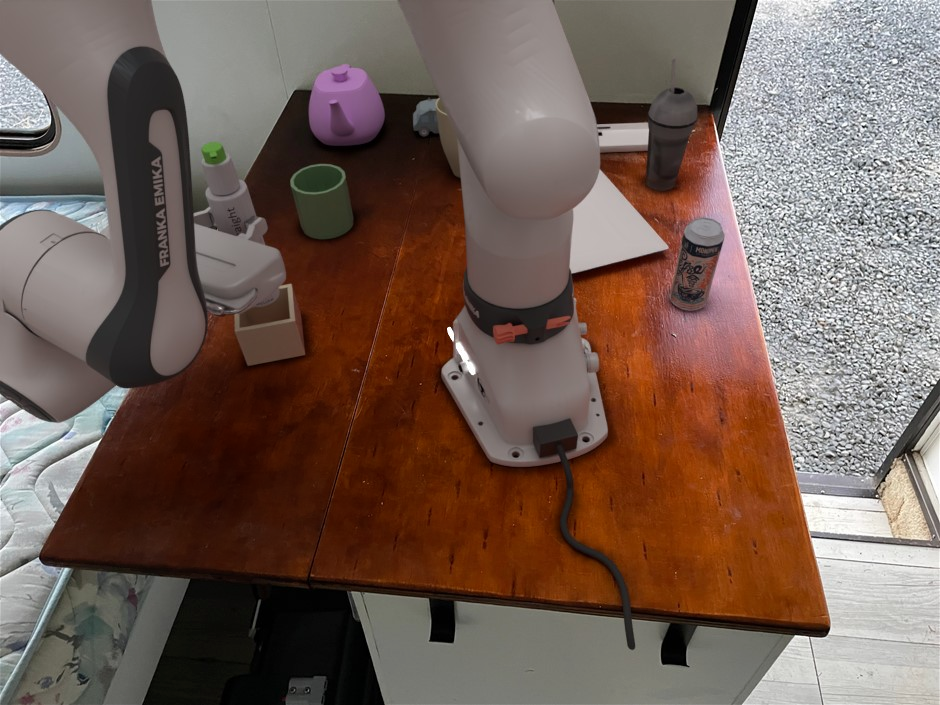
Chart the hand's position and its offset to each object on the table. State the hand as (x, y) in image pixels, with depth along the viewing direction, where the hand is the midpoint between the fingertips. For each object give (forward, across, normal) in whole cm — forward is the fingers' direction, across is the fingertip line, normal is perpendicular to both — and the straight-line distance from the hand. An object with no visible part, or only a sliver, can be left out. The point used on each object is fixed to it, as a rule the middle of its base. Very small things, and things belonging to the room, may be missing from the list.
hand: (241, 215), depth 79 cm
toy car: (+56, +6, +19) cm, 60 cm away
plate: (+36, -25, +19) cm, 48 cm away
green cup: (+23, +9, +19) cm, 31 cm away
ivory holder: (-1, 0, +19) cm, 19 cm away
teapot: (+47, +20, +19) cm, 55 cm away
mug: (+46, -5, +19) cm, 50 cm away
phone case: (+64, -25, +19) cm, 72 cm away
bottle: (-1, 0, +11) cm, 11 cm away
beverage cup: (+54, -34, +19) cm, 67 cm away
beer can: (+28, -46, +20) cm, 57 cm away
